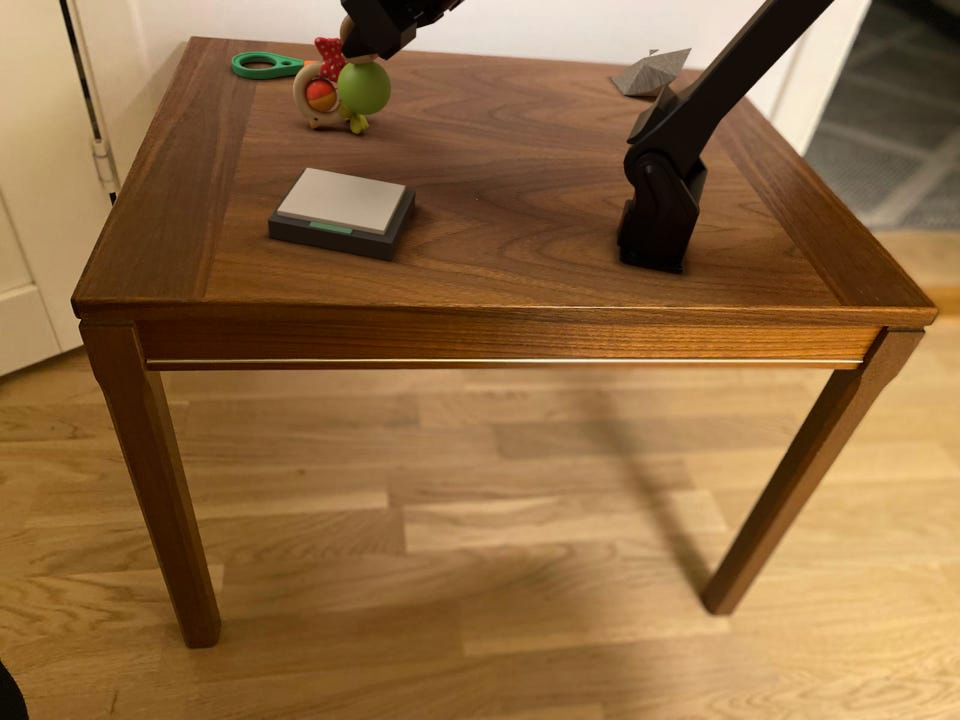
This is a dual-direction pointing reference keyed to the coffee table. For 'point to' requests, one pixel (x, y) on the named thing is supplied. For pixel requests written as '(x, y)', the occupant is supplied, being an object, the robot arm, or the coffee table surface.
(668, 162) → the robot arm
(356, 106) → the snail figurine
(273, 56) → the magnifying glass
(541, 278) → the coffee table surface
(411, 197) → the scale
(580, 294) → the coffee table surface
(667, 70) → the paper boat
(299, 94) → the bird rattle
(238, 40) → the coffee table surface
